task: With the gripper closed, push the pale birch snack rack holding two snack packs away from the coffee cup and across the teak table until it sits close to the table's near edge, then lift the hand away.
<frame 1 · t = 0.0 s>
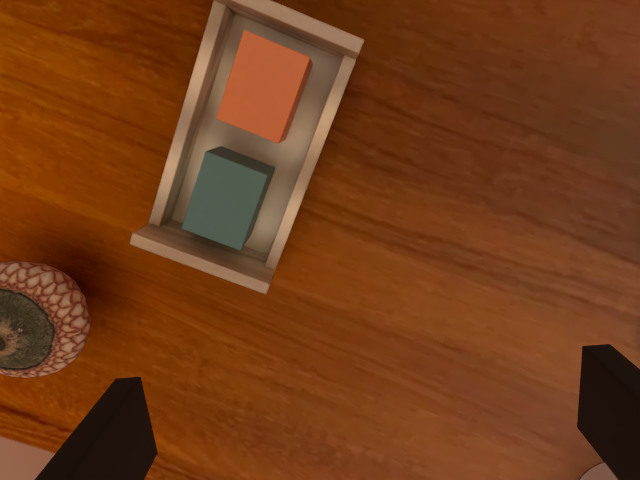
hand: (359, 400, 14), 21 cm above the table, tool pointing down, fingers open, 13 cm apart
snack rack: (255, 141, 32), on the table
acorn: (73, 286, 36), on the table
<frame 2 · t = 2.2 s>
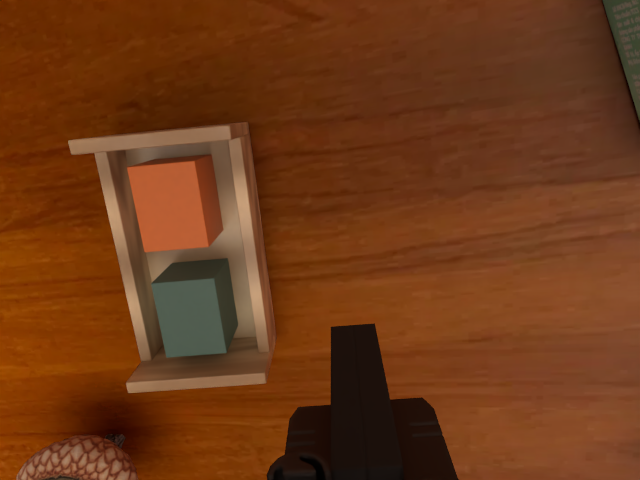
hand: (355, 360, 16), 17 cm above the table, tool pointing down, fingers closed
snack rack: (201, 242, 33), on the table
acorn: (117, 434, 38), on the table
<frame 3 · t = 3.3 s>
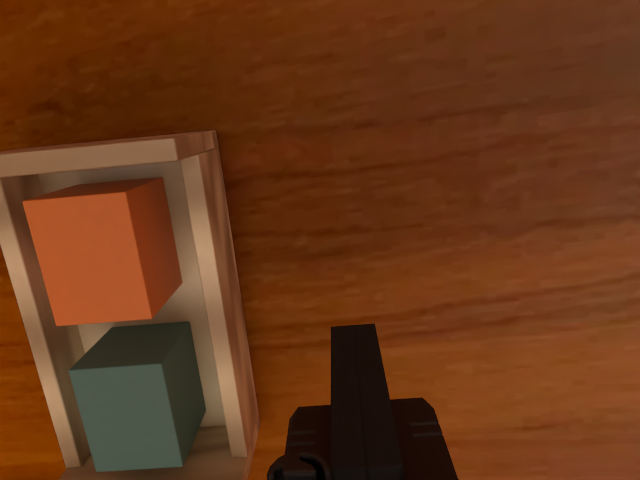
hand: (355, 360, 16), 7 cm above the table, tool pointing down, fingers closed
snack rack: (154, 297, 24), on the table
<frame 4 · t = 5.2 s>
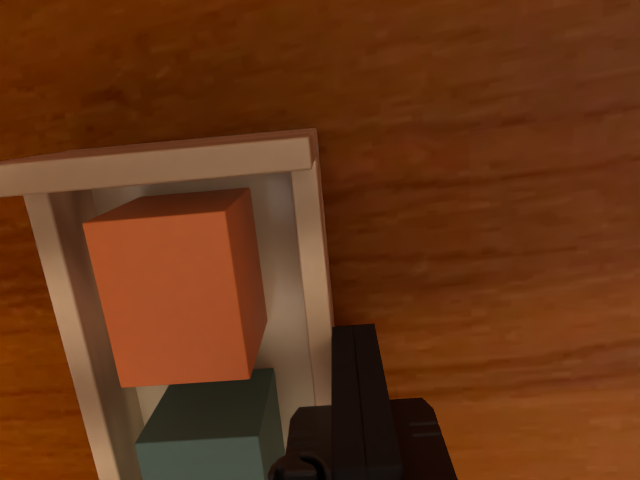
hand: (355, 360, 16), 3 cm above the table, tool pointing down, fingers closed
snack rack: (226, 336, 19), on the table, touching gripper
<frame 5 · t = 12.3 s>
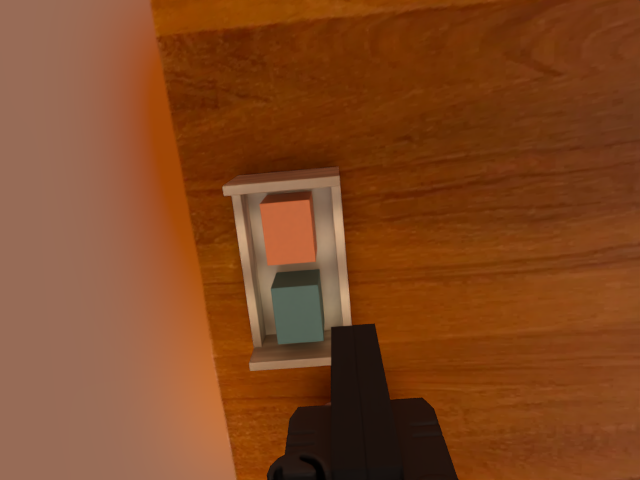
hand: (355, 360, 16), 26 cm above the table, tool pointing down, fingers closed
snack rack: (297, 256, 43), on the table
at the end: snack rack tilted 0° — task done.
